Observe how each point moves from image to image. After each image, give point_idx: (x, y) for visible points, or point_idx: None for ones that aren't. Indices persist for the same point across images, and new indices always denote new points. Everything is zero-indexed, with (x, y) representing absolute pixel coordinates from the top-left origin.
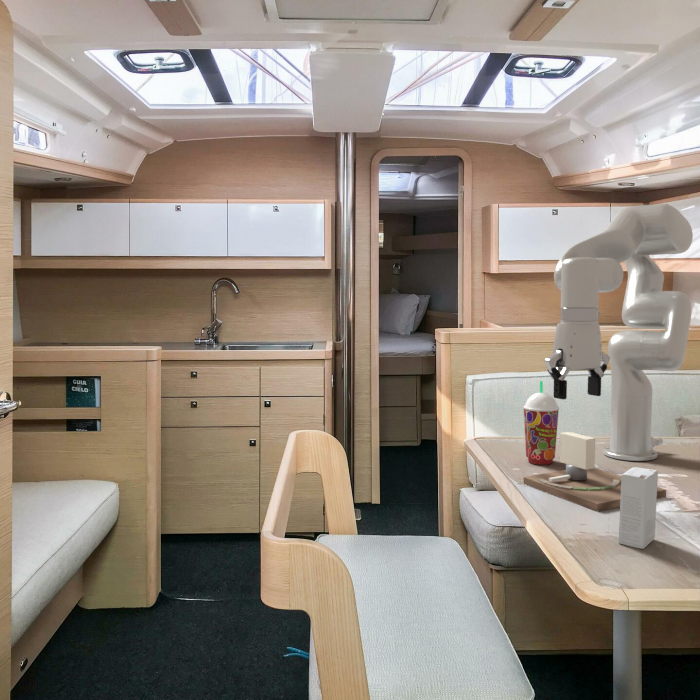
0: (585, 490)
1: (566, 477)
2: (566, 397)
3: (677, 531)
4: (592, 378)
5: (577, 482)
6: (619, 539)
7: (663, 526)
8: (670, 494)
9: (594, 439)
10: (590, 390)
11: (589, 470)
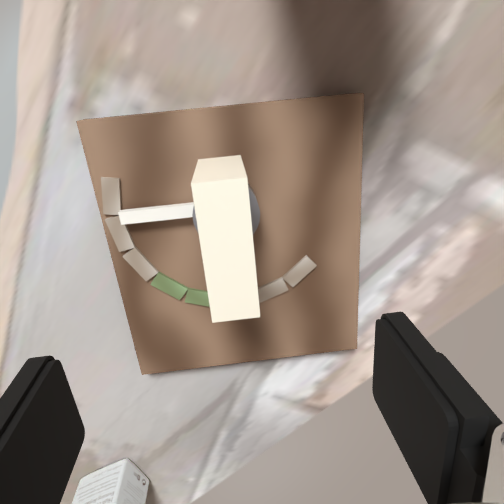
0: (176, 297)
1: (180, 217)
2: (82, 441)
3: (211, 464)
4: (436, 458)
5: None
6: (78, 486)
7: (208, 445)
8: None
9: (256, 314)
10: (387, 357)
11: (326, 141)
